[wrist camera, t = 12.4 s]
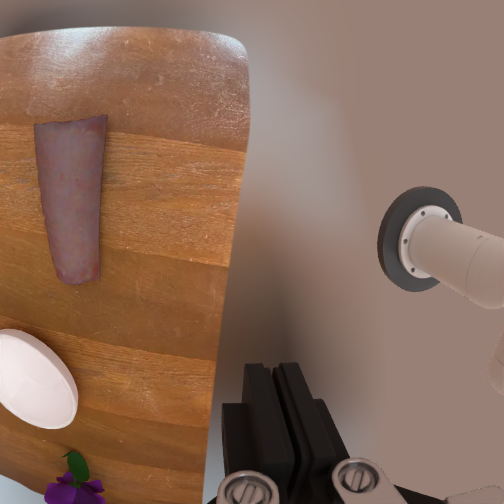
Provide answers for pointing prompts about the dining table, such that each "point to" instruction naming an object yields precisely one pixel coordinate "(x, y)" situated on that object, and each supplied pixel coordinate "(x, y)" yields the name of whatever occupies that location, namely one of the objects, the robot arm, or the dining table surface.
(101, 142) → the brown tapered cylinder
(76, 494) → the flower
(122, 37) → the dining table surface
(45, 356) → the bowl
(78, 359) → the dining table surface
